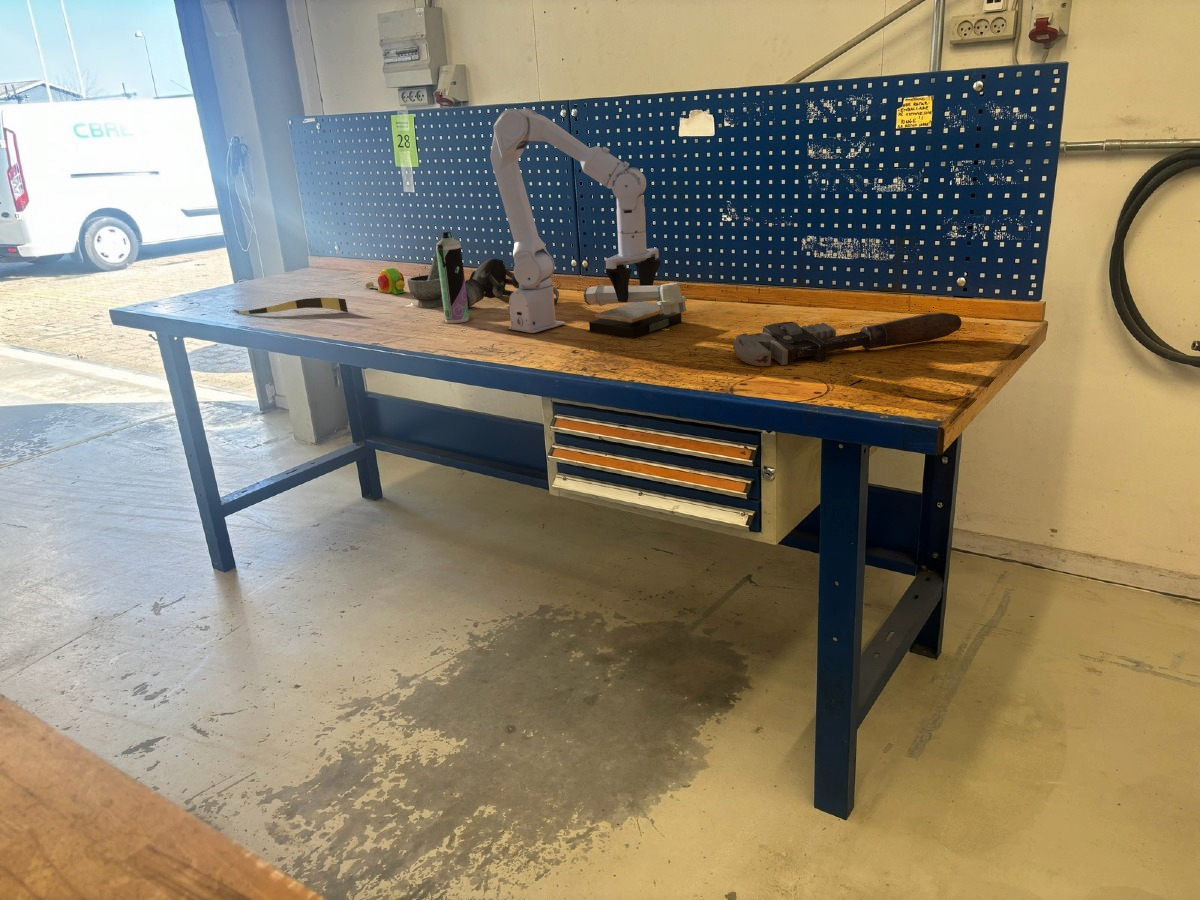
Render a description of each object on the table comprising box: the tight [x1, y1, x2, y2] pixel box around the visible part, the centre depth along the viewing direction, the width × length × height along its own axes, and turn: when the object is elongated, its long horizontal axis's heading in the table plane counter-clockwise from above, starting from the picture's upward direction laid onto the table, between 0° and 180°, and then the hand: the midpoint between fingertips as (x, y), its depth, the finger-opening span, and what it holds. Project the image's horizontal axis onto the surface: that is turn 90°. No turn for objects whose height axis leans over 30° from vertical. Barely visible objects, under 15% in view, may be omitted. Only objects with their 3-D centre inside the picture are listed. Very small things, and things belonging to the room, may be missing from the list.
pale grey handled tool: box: [583, 282, 687, 315], centre depth 177 cm, size 5×7×25 cm
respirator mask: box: [465, 257, 560, 309], centre depth 211 cm, size 20×22×15 cm
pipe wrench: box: [732, 312, 963, 367], centre depth 154 cm, size 43×13×5 cm, turn 106°
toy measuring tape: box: [364, 267, 406, 295], centre depth 237 cm, size 6×19×7 cm, turn 42°
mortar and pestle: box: [407, 253, 443, 309], centre depth 213 cm, size 11×9×12 cm
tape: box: [231, 297, 349, 315], centre depth 216 cm, size 6×38×4 cm, turn 69°
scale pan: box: [594, 301, 660, 323], centre depth 178 cm, size 14×10×2 cm
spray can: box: [435, 231, 470, 324], centre depth 192 cm, size 6×6×20 cm
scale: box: [588, 312, 682, 339], centre depth 179 cm, size 16×12×2 cm
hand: (634, 298), depth 177 cm, fingers open, 7 cm apart
